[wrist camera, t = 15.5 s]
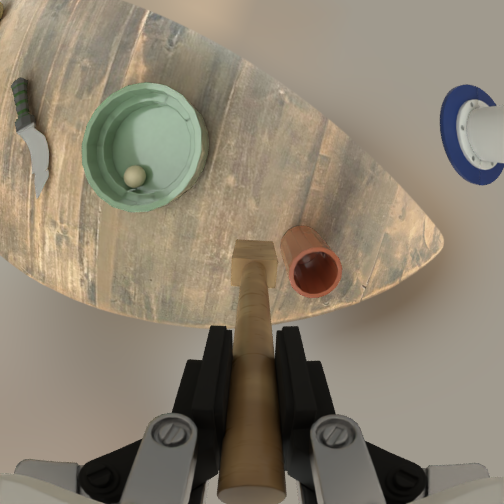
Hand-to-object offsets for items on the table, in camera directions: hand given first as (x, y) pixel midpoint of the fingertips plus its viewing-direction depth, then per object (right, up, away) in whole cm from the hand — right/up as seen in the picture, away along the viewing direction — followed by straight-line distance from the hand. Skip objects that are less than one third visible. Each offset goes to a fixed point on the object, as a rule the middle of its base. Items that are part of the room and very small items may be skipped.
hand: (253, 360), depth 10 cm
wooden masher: (0, +4, +14) cm, 14 cm away
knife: (-35, +24, +24) cm, 49 cm away
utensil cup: (+7, +5, +30) cm, 31 cm away
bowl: (-13, +18, +25) cm, 34 cm away
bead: (-15, +14, +25) cm, 32 cm away
